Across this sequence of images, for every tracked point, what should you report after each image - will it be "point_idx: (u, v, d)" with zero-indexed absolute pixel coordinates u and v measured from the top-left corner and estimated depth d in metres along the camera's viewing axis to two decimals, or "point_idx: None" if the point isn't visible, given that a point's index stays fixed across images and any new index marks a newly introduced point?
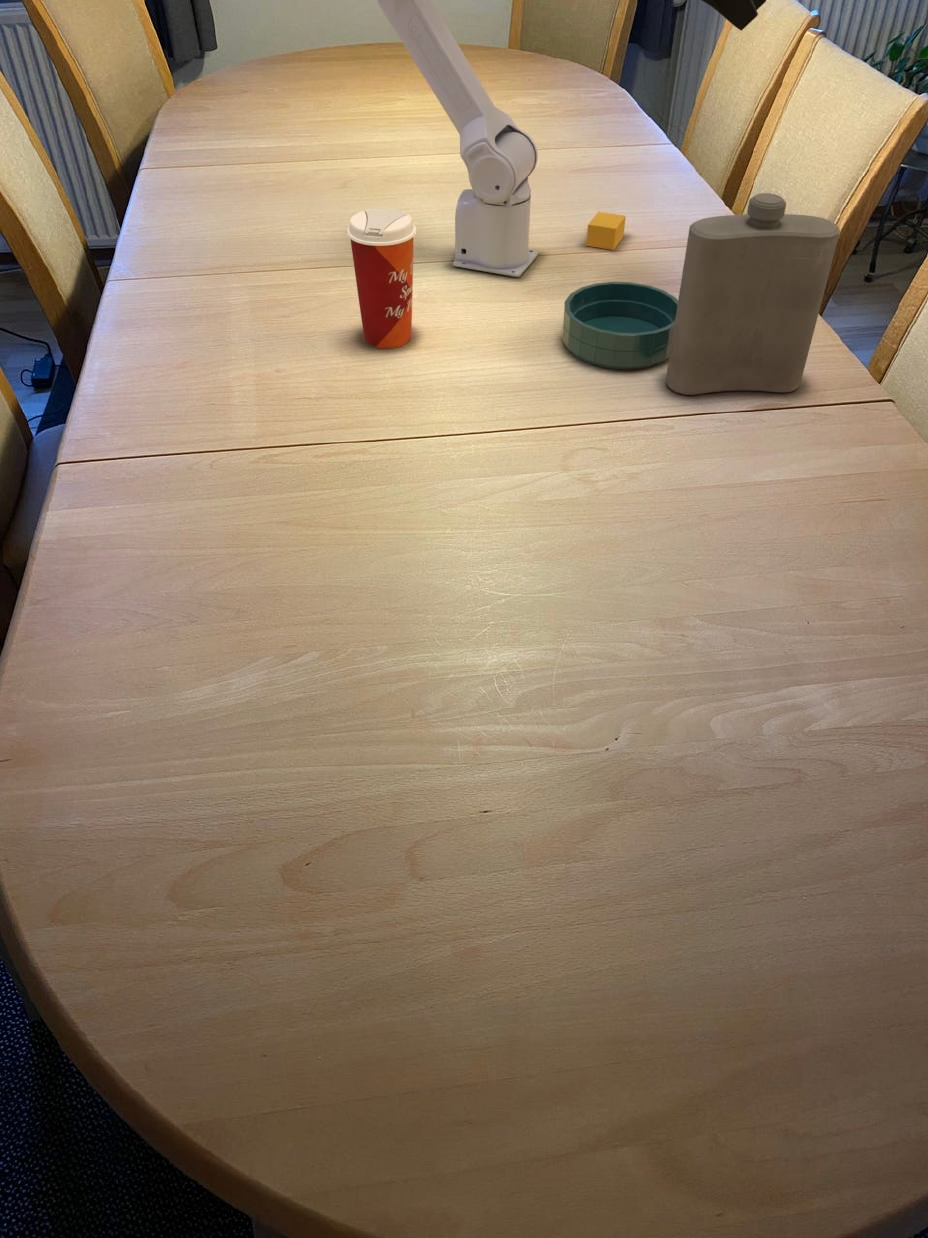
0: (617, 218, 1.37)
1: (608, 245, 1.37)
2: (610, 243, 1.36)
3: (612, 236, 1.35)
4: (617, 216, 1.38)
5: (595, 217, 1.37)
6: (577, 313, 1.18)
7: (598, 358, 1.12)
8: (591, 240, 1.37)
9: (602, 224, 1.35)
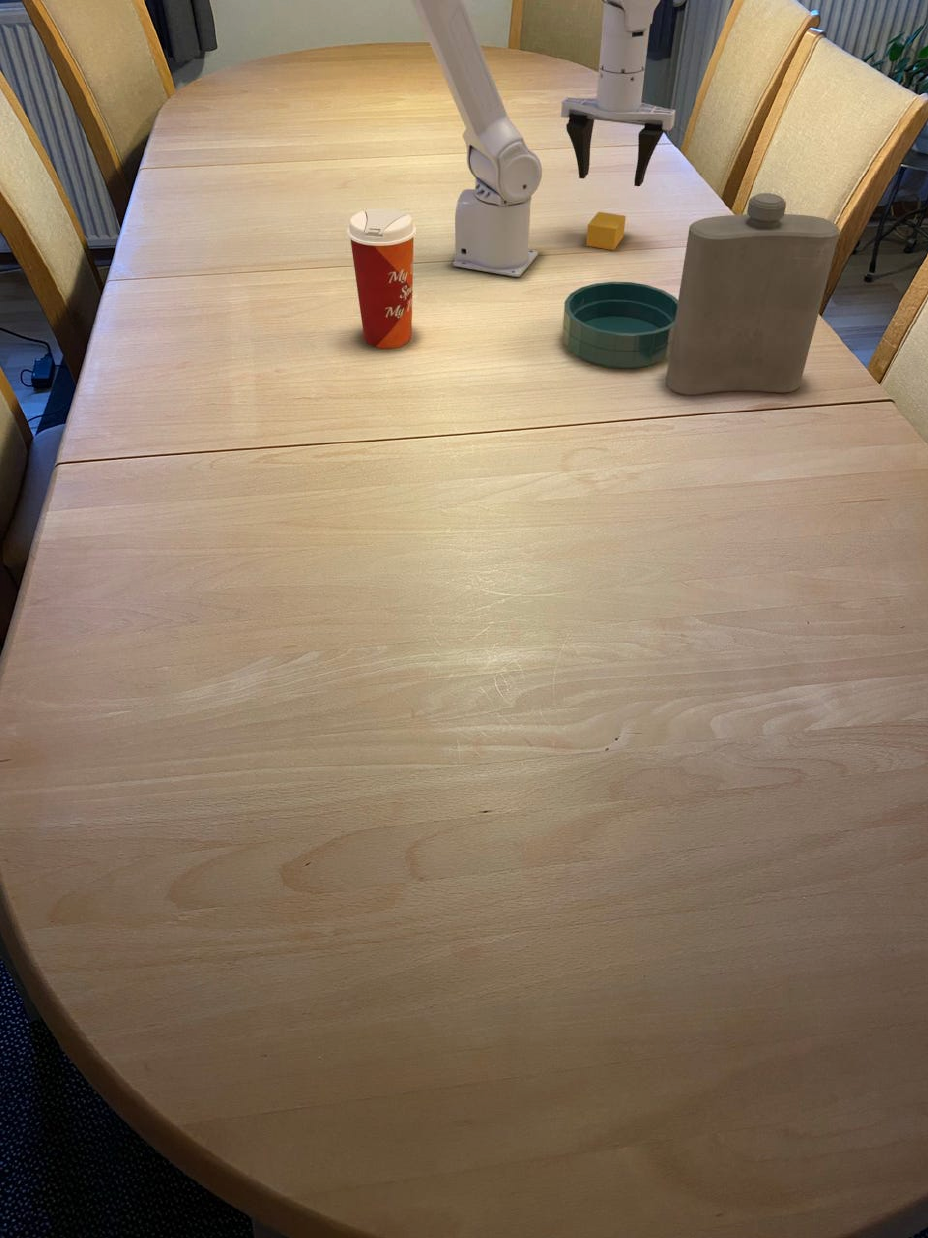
0: (617, 218, 1.37)
1: (608, 245, 1.37)
2: (610, 243, 1.36)
3: (612, 236, 1.35)
4: (617, 216, 1.38)
5: (595, 217, 1.37)
6: (577, 313, 1.18)
7: (598, 358, 1.12)
8: (591, 240, 1.37)
9: (602, 224, 1.35)
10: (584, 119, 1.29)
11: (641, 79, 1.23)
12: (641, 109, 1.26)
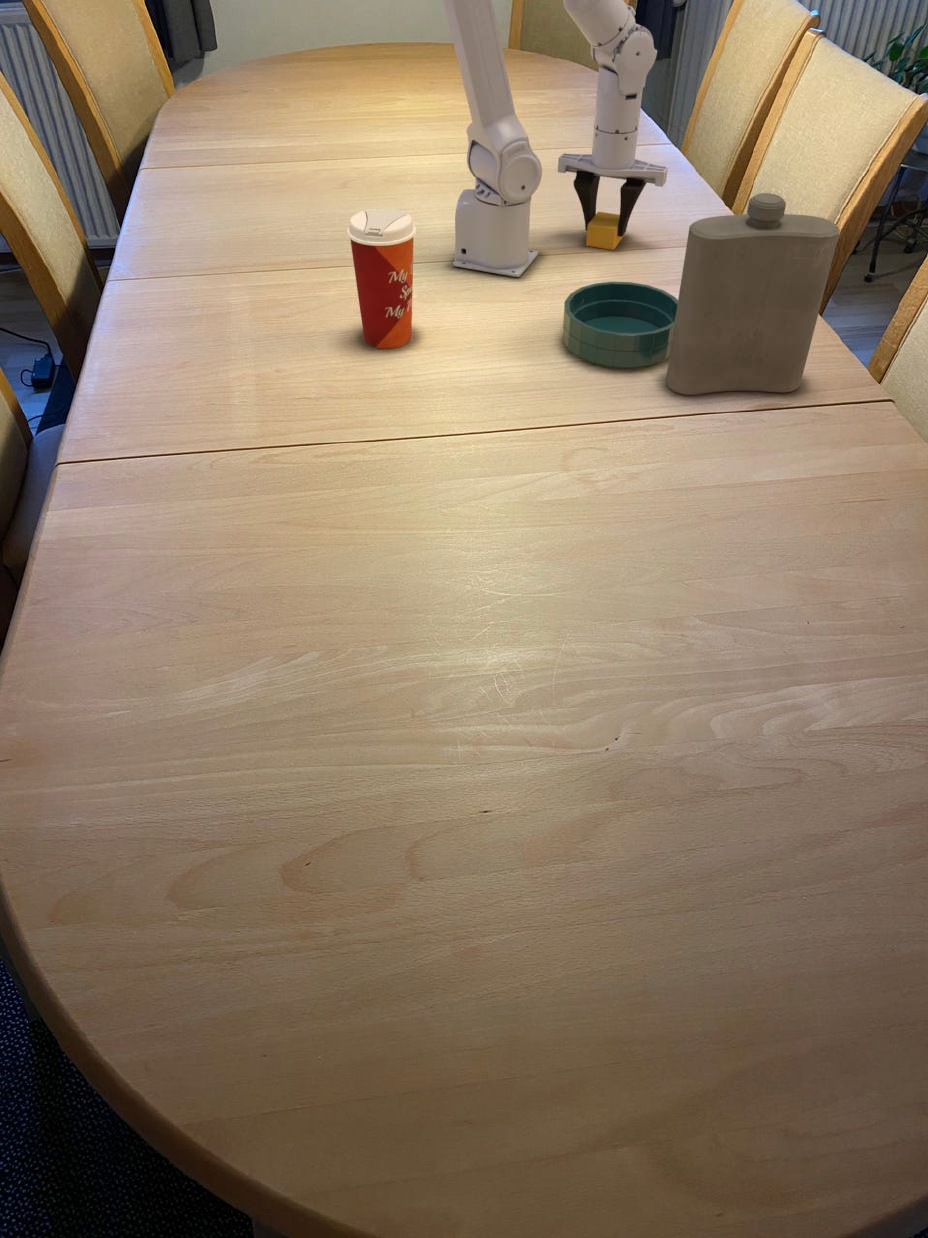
0: (617, 218, 1.37)
1: (607, 245, 1.37)
2: (610, 243, 1.36)
3: (612, 235, 1.35)
4: (617, 216, 1.38)
5: (595, 217, 1.37)
6: (577, 313, 1.18)
7: (598, 358, 1.12)
8: (590, 240, 1.37)
9: (602, 224, 1.36)
10: (591, 176, 1.33)
11: (635, 138, 1.28)
12: (635, 166, 1.31)
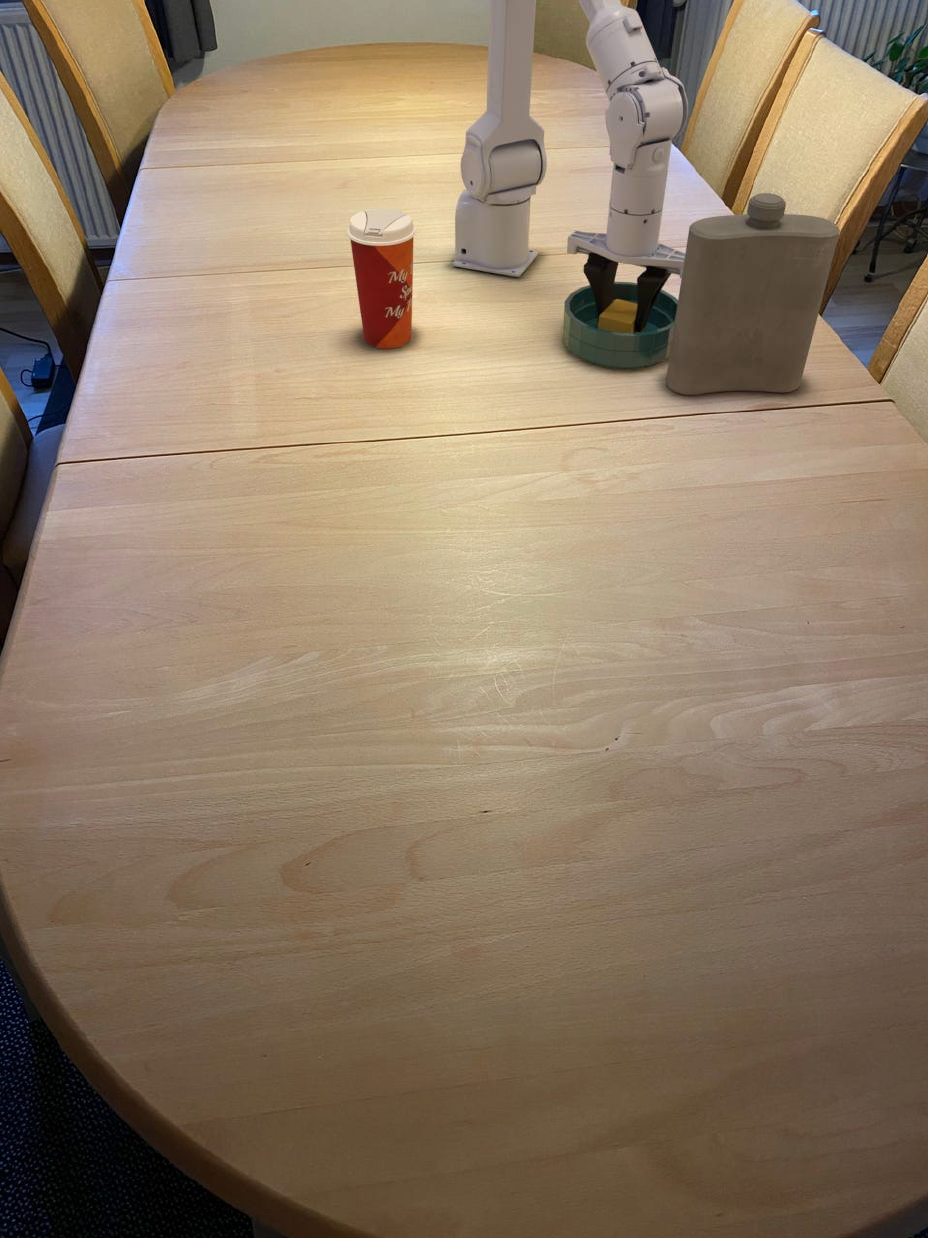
0: (636, 310, 1.15)
1: None
2: None
3: (627, 331, 1.13)
4: None
5: (610, 306, 1.15)
6: (577, 313, 1.18)
7: (598, 358, 1.12)
8: None
9: (616, 317, 1.13)
10: (605, 260, 1.11)
11: (657, 221, 1.06)
12: (657, 253, 1.08)
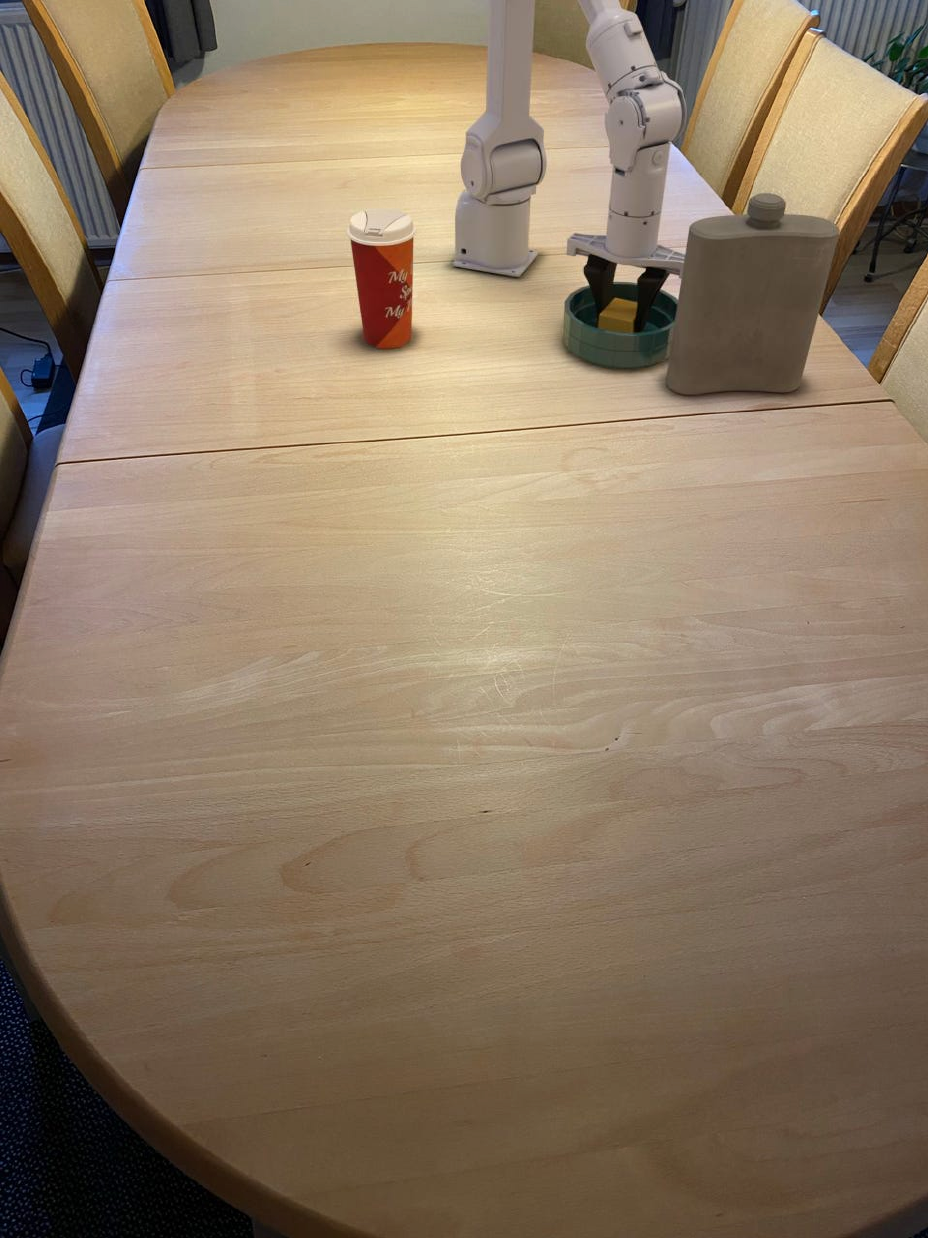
0: (635, 308, 1.16)
1: None
2: None
3: (627, 329, 1.14)
4: (636, 306, 1.16)
5: (610, 305, 1.16)
6: (577, 313, 1.18)
7: (598, 358, 1.12)
8: None
9: (616, 316, 1.14)
10: (604, 262, 1.12)
11: (656, 222, 1.07)
12: (656, 254, 1.10)
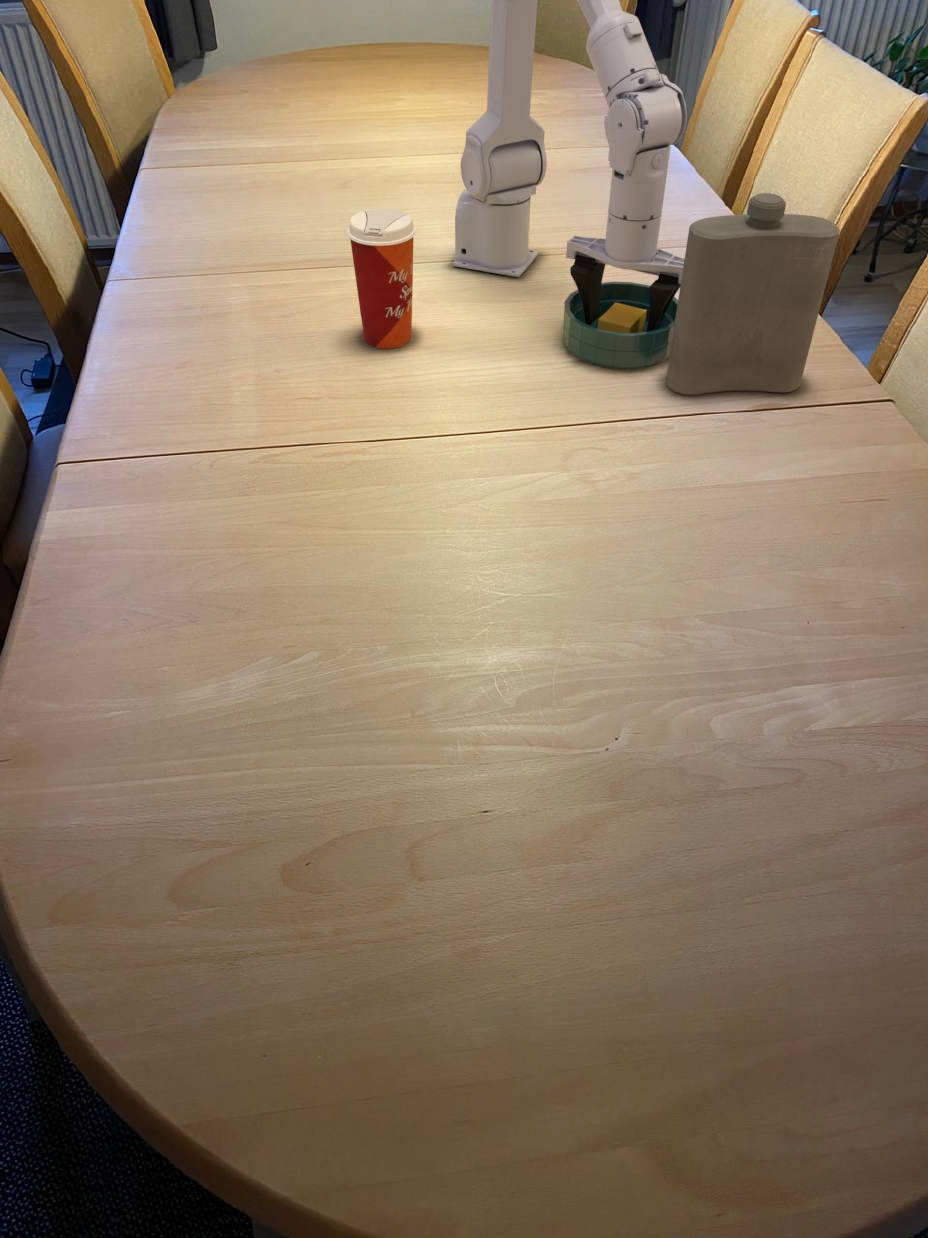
0: (635, 313, 1.15)
1: None
2: None
3: None
4: (636, 311, 1.15)
5: (609, 310, 1.16)
6: (577, 313, 1.18)
7: (598, 358, 1.12)
8: None
9: (616, 321, 1.14)
10: (591, 263, 1.12)
11: (656, 226, 1.06)
12: (656, 258, 1.08)
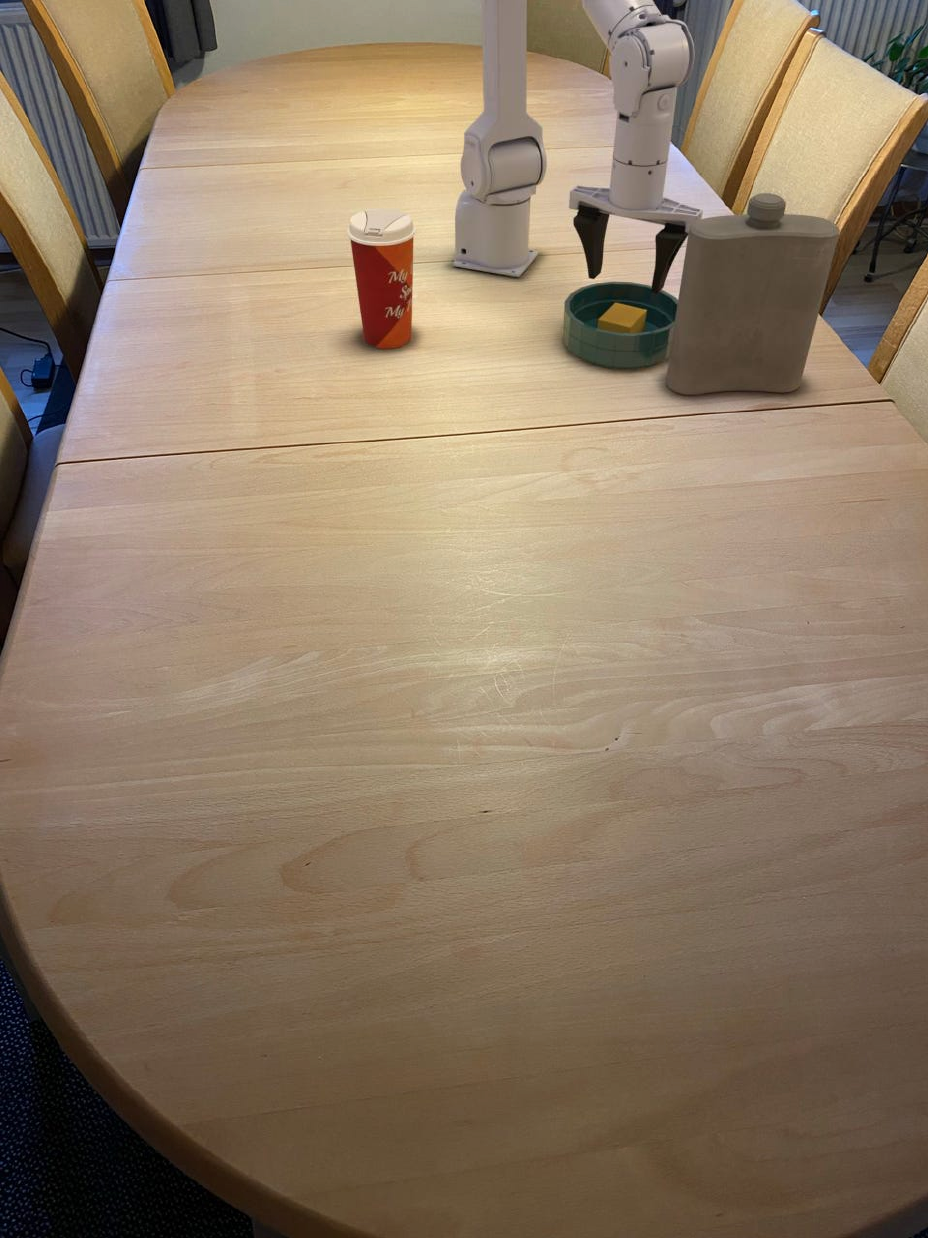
0: (635, 313, 1.15)
1: None
2: None
3: None
4: (636, 311, 1.15)
5: (609, 310, 1.16)
6: (577, 313, 1.18)
7: (598, 358, 1.12)
8: None
9: (616, 321, 1.14)
10: (595, 213, 1.08)
11: (662, 173, 1.03)
12: (662, 206, 1.05)
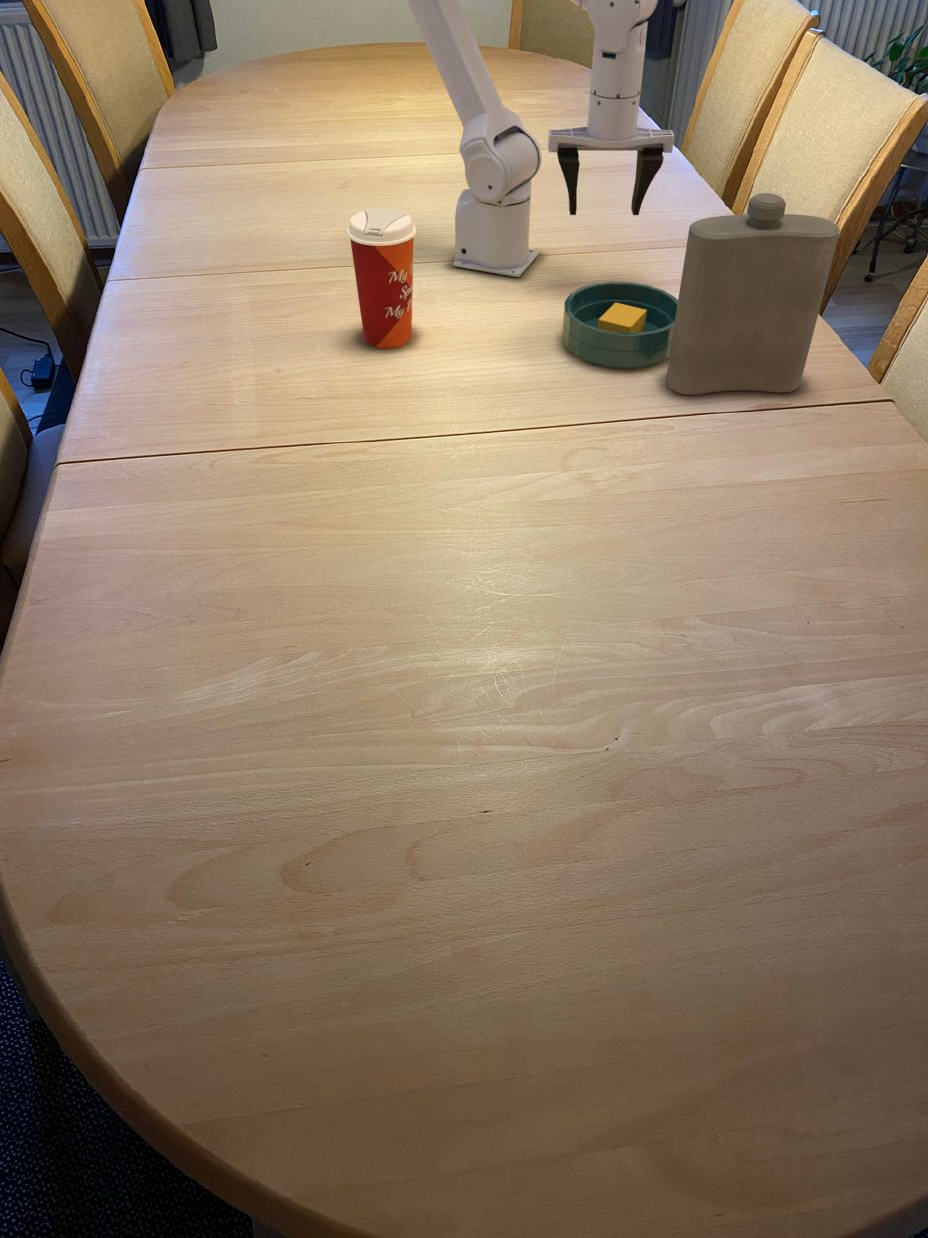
0: (635, 313, 1.15)
1: None
2: None
3: None
4: (636, 311, 1.15)
5: (609, 310, 1.16)
6: (577, 313, 1.18)
7: (598, 358, 1.12)
8: None
9: (616, 321, 1.14)
10: (575, 152, 1.17)
11: None
12: (638, 134, 1.16)
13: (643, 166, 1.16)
